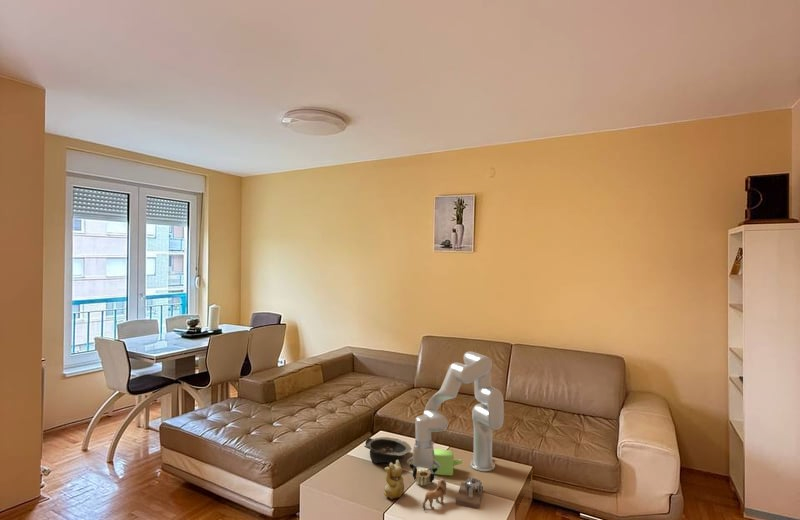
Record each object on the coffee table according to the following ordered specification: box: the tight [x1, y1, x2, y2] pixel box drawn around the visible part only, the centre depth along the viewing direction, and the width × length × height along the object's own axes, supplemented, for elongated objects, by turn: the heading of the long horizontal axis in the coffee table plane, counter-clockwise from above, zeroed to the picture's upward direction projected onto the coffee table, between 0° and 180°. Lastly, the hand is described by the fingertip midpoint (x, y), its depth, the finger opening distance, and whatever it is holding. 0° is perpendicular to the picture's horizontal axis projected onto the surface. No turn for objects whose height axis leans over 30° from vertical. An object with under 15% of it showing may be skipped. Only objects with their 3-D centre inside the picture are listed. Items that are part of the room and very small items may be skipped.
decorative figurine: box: [383, 460, 405, 501], centre depth 190 cm, size 10×8×15 cm
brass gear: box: [415, 469, 432, 486], centre depth 201 cm, size 7×7×4 cm
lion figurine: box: [422, 478, 447, 512], centre depth 183 cm, size 15×5×9 cm, turn 139°
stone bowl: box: [363, 436, 413, 465], centre depth 226 cm, size 25×25×9 cm
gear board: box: [455, 482, 484, 509], centre depth 190 cm, size 15×10×6 cm, turn 162°
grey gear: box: [464, 477, 483, 493], centre depth 193 cm, size 7×7×4 cm
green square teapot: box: [433, 448, 463, 476], centre depth 213 cm, size 18×10×10 cm, turn 84°
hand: (423, 479), depth 201 cm, fingers closed on brass gear, 7 cm apart
